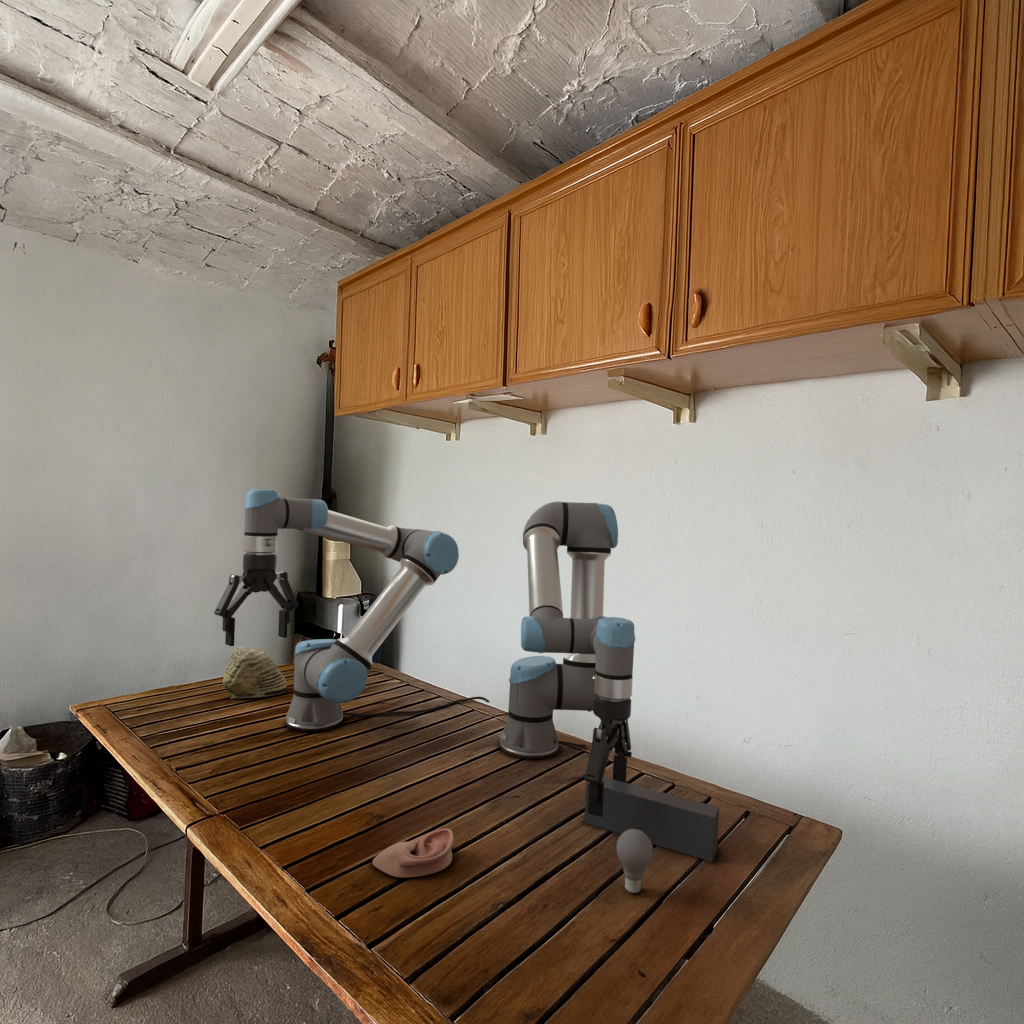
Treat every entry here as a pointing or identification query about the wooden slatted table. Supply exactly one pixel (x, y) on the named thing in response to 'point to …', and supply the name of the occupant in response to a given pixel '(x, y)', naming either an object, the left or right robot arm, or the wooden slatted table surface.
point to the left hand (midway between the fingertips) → (257, 641)
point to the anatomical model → (417, 855)
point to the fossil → (252, 674)
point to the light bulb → (634, 857)
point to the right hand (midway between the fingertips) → (607, 800)
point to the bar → (658, 818)
